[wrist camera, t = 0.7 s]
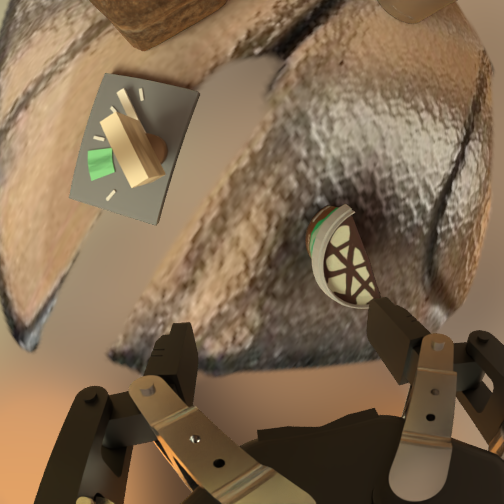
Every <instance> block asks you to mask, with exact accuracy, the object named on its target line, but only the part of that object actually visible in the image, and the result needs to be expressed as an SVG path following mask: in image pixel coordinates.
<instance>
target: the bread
mask: <svg viewBox="0 0 504 504" xmlns="http://www.w3.org/2000/svg"><path fill="white" fill-rule="evenodd" d="M90 2H91V3H92V4H93V5H94V6H95V7H96V8H97V9H98V10H99V11H100V12H102V13H103V14H104V15H105V16H106V17H107V18H108V19H109V20H110V21H111V22H112V24H113V25H114V26H115V27H116V28H117V30H118V31H119V32H120V33H121V34H122V35H123V36H124V37H125V38H126V40H127V41H128V42H129V43H130V44H131V45H132V46H133V47H135V48H137V49H139V50H141V51H146V50H148V49H150V48H152V47H154V46H156V45H158V44H160V43H162V42H163V41H165V40H167V39H169V38H170V37H172V36H174V35H176V34H178V33H179V32H181V31H183V30H184V29H186V28H188V27H190V26H191V25H193V24H195V23H197V22H199V21H200V20H202V19H203V18H205V17H207V16H208V15H210V14H211V13H213V12H215V11H216V10H218V9H219V8H221V7H222V6H223V5H224V4H225V3H226V0H90Z"/></svg>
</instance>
